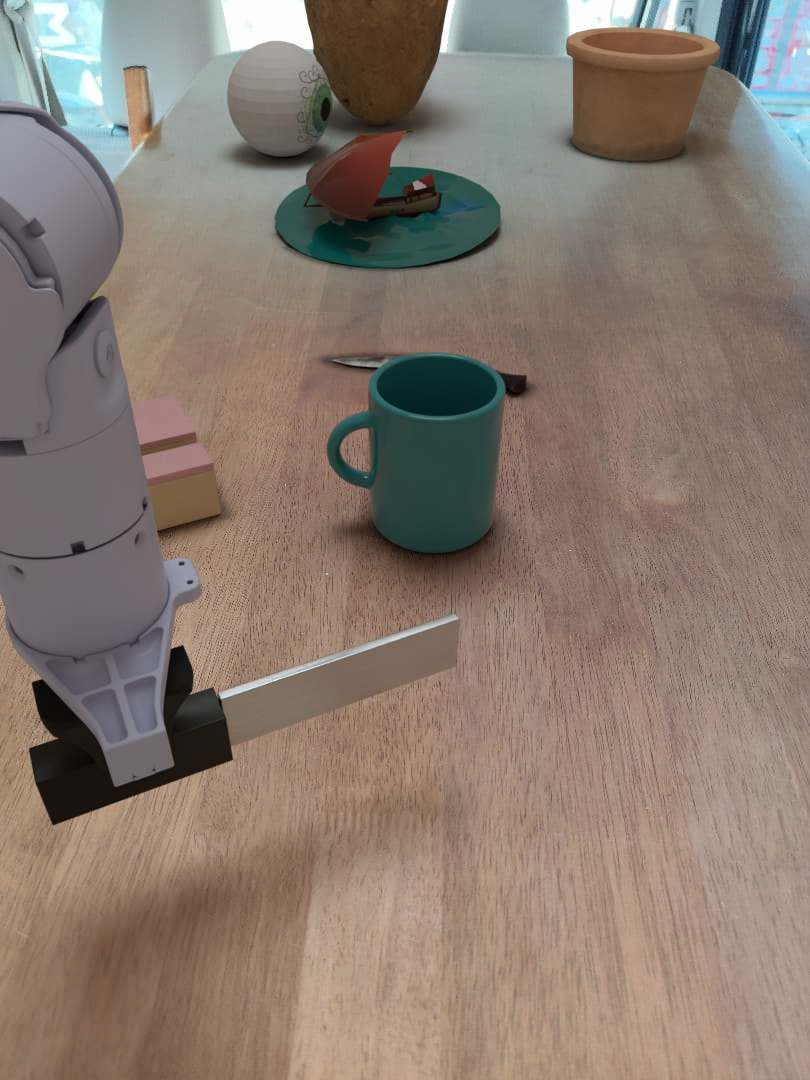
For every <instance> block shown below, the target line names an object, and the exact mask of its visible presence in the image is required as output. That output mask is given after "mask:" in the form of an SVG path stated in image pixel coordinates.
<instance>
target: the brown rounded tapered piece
mask: <svg viewBox="0 0 810 1080" xmlns="http://www.w3.org/2000/svg"><path fill="white" fill-rule="evenodd" d="M303 3H304V10H305V14H306V19H307V25H308V28H309V32H310V35H311V40H312V45H313V46H312V48H313V49H312V53H313V55H314V58H315V59H316V60H317V61H318V63H319V64H320V65H321V66H322V68H323V70H324V72H325V74H326V76H327V78H328V81H329V85H330V88H331V93H332V95H334V97H335V98H336V99H337V101H338V103H340V105H341V106H342V107H343V108H344V109H345V110H346V111H347V112H348V114H351V116H352V117H355V118H356V119H357V120H360V121H361V122H363V123H366V124H369V125H371V126H382V125H386V124H390V123H395V122H399V121H401V120H403V119H404V118H406V117H407V116H408V115H410V114H411V112H413V110H414V109H415V108H416V106H417V104H419V101H420V99H421V97H422V95H423V93H424V91H425V88H426V86H427V84H428V82H429V80H430V78H431V76H432V74H433V72H434V70H435V67H436V64H437V62H438V57H439V54H440V52H441V46H442V40H443V39H442V38H443V33H444V28H445V20H446V16H447V10H448V5H449V0H303Z"/></svg>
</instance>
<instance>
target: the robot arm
mask: <svg viewBox="0 0 810 1080" xmlns="http://www.w3.org/2000/svg"><path fill="white" fill-rule="evenodd" d="M124 229H125V228H124V214H123V209H122V206H121V201H120V198H119V195H118V192H117V189H116V188H115V185H114V183H113V181H112V179H111V177H110V176H109V174H108V172H107V171H106V169H105V167H104V166H103V164H102V163H101V162H100V161H99V159H98V158H97V157H96V155H95V154H94V153H93V152H92V151H91V150H90V148H88V147H87V146H86V145H85V144H84V143H83V142H82V141H81V140H80V139H78V138H77V137H76V136H75V135H74V134H73V133H71V132H70V131H68V130H67V129H66V128H63V126H62V125H61V124H60V123H59V122H58V121H57V120H56V119H55V118H54V117H53V116H52V115H51V113H49V112H48V111H47V110H45V108H41V107H38V106H35V105H33V104H29V103H25V102H20V101H15V100H14V101H13V100H0V598H1V600H2V603H3V606H4V609H5V613H4V625H5V629H6V631H7V634H8V637H9V640H10V642H11V644H12V646H13V649H14V650H15V651H16V653H17V654H18V655H19V657H21V658H22V659H23V660H24V662H26V664H27V665H28V666H29V667H30V668H31V669H32V670H33V671H34V672H35V673H36V674H37V675H38V676H39V677H40V679H38V680H34V681H32V682H31V687H32V692H33V696H34V701H35V705H36V706H35V707H36V710H37V713H38V716H39V719H40V722H41V723H42V725H43V726H44V728H45V729H46V730H47V731H48V733H49V734H50V735H51V736H52V737H54V738H55V739H58V738H60V739H63V740H67V741H70V742H72V743H74V744H76V745H78V746H79V747H81V748H83V749H84V750H85V751H86V752H88V753H89V754H90V755H91V756H92V758H93V759H94V760H95V761H96V762H97V764H98V765H99V766H100V768H101V769H102V770H103V771H104V773H105V774H106V775H107V776H108V778H109V779H110V780H111V781H112V782H113V784H114V786H115V787H118V788H121V789H123V788H126V787H129V786H132V785H135V784H137V783H140V782H143V781H146V780H148V779H151V778H154V777H157V776H160V775H162V774H164V773H165V772H166V769H168V768H171V767H173V766H174V761H173V757H172V753H171V748H170V741H171V732H172V726H173V722H174V719H175V716H176V714H177V712H178V710H179V708H180V706H181V705H182V703H183V702H184V700H185V699H186V698H187V697H188V696H189V695H190V694H192V692H193V689H194V681H195V677H194V675H195V674H194V669H193V668H194V667H193V666H192V663H191V661H190V658H189V656H188V653H187V650H186V648H185V645H184V644H181V645H178V646H175V647H172V644H173V642H172V641H173V637H174V636H173V635H174V629H175V622H176V615H177V611H178V610H179V608H180V607H182V606H184V605H187V604H190V603H193V602H195V601H197V600H199V599H200V598H201V596H202V595H203V590H202V584H201V579H200V576H199V575H198V572H197V570H196V568H195V565H194V564H193V561H191V559H189V558H186V557H176V558H173V559H168V560H164V558H163V553H162V547H161V545H160V544H161V543H160V537H159V533H158V531H157V528H156V523H155V519H154V513H153V508H152V503H151V498H150V493H149V488H148V483H147V478H146V473H145V468H144V463H143V459H142V454H141V449H140V444H139V439H138V434H137V430H136V425H135V420H134V415H133V410H132V406H131V404H132V401H131V396H130V390H129V386H128V381H127V376H126V372H125V370H124V366H123V361H122V357H121V352H120V347H119V342H118V337H117V333H116V328H115V323H114V318H113V313H112V309H111V303H110V300H109V298H108V297H107V296H105V295H98V296H97V297H95V298H93V297H94V295H95V294H96V293H97V292H98V291H99V289H100V288H101V287H102V286H103V284H105V282H106V281H107V280H108V278H109V276H110V275H111V273H112V271H113V268H114V265H115V264H116V262H117V260H118V258H119V255H120V253H121V249H122V245H123V240H124Z"/></svg>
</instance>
